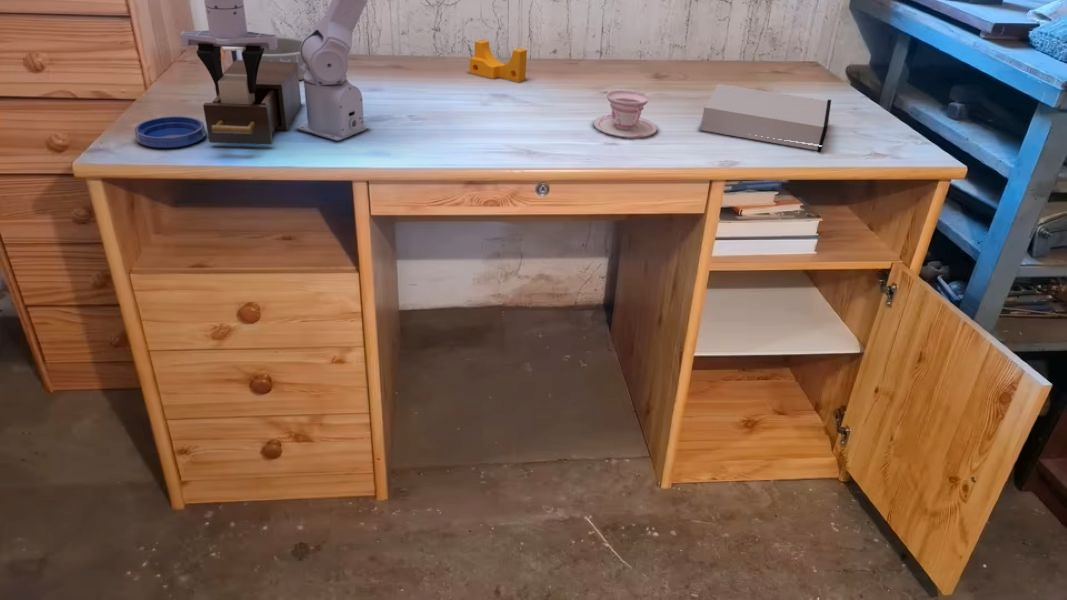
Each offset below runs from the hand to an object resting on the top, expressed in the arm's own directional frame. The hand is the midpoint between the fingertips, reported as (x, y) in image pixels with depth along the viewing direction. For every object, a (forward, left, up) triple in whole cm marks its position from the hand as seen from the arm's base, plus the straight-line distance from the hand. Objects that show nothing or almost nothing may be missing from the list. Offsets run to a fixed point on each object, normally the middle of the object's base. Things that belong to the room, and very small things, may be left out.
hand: (236, 91), depth 129 cm
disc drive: (-73, -65, -8) cm, 98 cm away
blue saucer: (+8, +8, -8) cm, 14 cm away
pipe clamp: (-14, -60, -8) cm, 62 cm away
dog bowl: (+24, -32, -8) cm, 41 cm away
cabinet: (+5, -9, -8) cm, 13 cm away
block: (0, 0, -2) cm, 2 cm away
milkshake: (+21, -18, -8) cm, 29 cm away
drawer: (-1, 0, -7) cm, 7 cm away
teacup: (-51, -47, -8) cm, 69 cm away
